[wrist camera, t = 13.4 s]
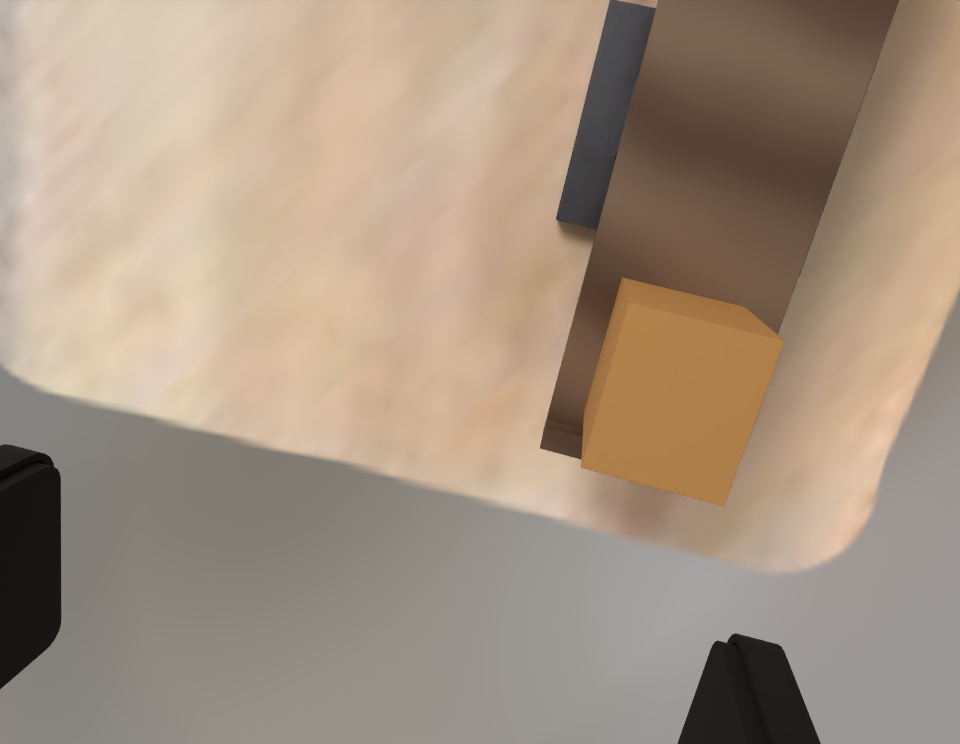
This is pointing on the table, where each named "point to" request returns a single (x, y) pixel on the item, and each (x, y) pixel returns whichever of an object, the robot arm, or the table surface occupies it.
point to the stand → (607, 112)
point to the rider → (677, 390)
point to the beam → (722, 164)
